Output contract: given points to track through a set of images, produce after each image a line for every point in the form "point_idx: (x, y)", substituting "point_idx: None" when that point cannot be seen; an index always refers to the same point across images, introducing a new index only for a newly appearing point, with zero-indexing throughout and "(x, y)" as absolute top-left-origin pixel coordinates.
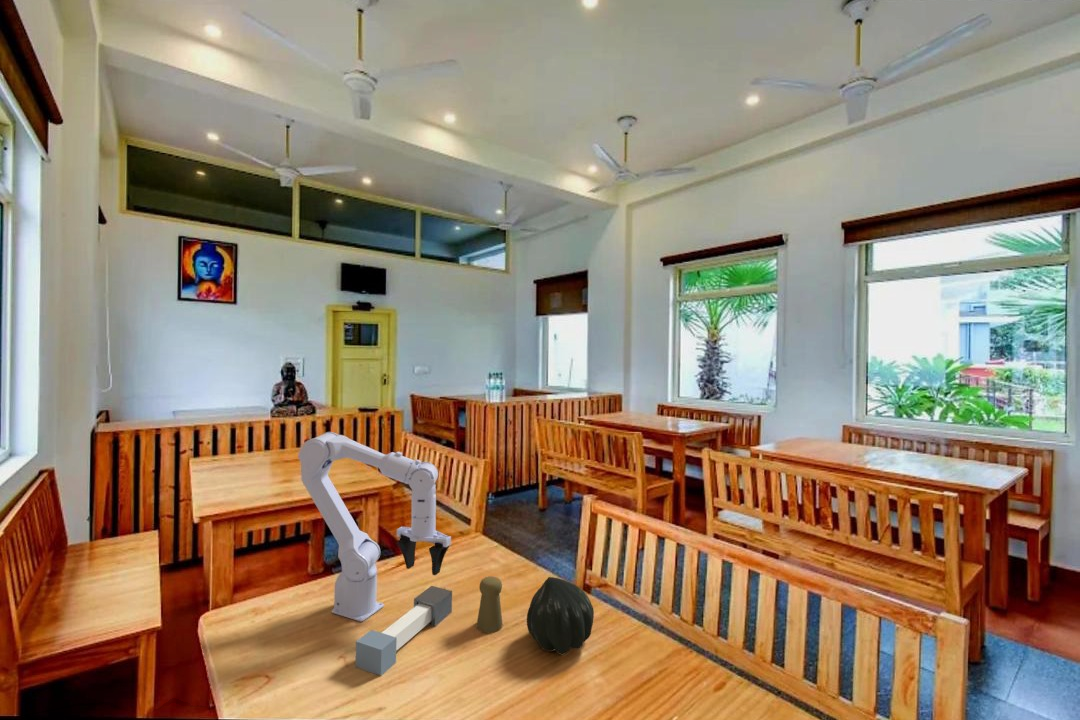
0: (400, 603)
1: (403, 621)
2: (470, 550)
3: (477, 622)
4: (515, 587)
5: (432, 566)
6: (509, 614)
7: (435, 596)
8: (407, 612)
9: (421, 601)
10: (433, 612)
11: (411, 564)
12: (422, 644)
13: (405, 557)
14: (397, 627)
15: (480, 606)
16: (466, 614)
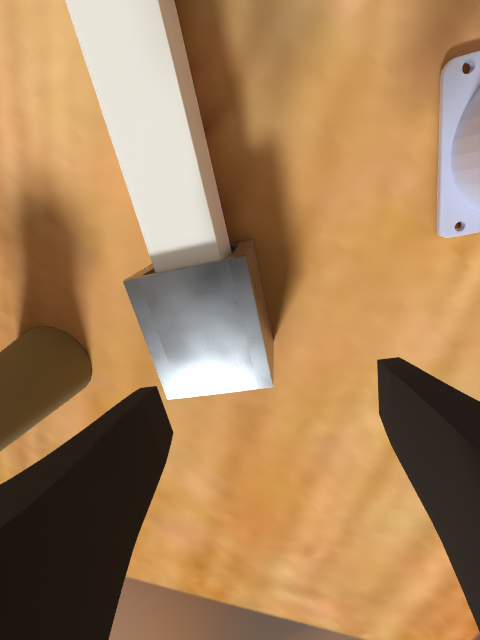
0: (389, 292)
1: (139, 80)
2: (406, 608)
3: (61, 344)
4: (158, 520)
5: (110, 424)
6: (66, 426)
7: (182, 331)
8: (196, 163)
9: (201, 265)
10: (147, 269)
11: (386, 404)
12: (102, 148)
13: (455, 408)
14: (110, 5)
15: (8, 376)
16: (147, 368)
